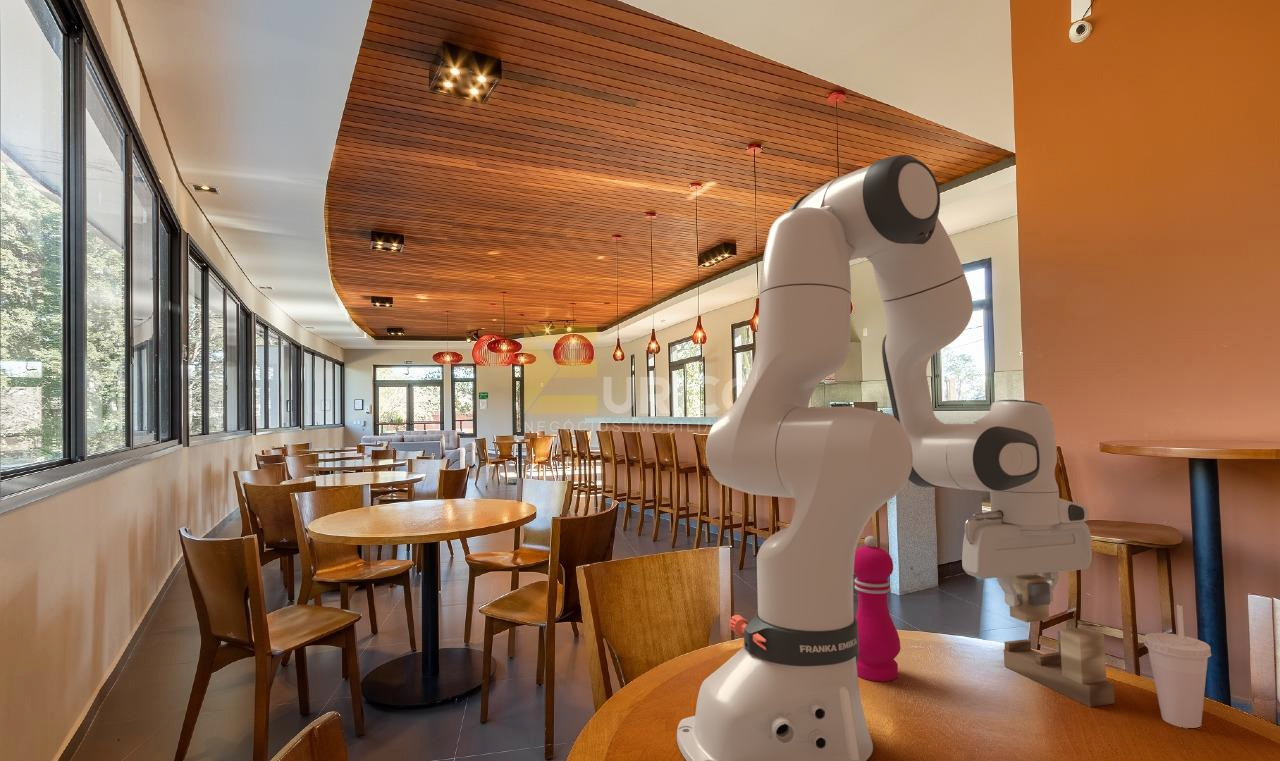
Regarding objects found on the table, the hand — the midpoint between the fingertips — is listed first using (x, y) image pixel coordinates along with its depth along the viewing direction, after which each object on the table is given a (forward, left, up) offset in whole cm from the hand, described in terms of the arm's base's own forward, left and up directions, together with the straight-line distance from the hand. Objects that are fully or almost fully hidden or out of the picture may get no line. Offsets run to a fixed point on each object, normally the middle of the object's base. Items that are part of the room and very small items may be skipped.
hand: (1029, 603), depth 95 cm
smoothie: (+5, -17, -10) cm, 20 cm away
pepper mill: (-22, +6, -10) cm, 25 cm away
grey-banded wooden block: (0, 0, -2) cm, 2 cm away
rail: (0, -4, -10) cm, 11 cm away
